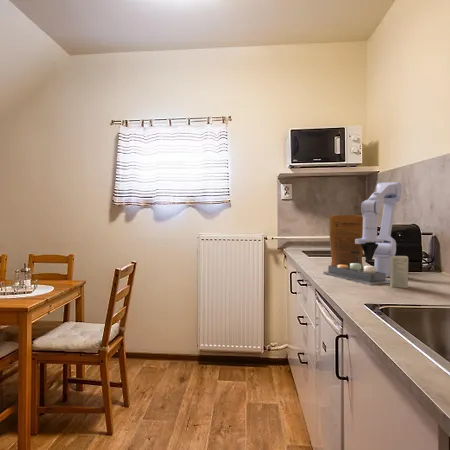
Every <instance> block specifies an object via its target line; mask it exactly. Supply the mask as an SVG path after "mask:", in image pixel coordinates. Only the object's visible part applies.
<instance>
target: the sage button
mask: <svg viewBox="0 0 450 450" xmlns="http://www.w3.org/2000/svg"><path fill="white" fill-rule="evenodd" d="M350 270H355V271H357V270H361V264H359V263H350Z"/></svg>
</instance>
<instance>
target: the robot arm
mask: <svg viewBox="0 0 450 450" xmlns="http://www.w3.org/2000/svg"><path fill="white" fill-rule="evenodd" d="M401 195H402V184H401V182H400V181H396V182H395V181H394V182H393V181H392V182H390V181H389V182H378V183H377V185H376V189H375V191H374V192H373V193H371V195H370V196H369V198H367V199H366V200H365V199H364V201H362V202H361V204H360V205H361V206H360V211H361V215H362V217H363V235H362V238H361V239H355V244H361V247H362V249H363V253H364V258H365V261H370V262H372V261H373V258H374V265H373V266H375V267H376V271H377V272H382V273H386V278H390V263H391V256H396V253H397V242H396V240H395V238H393V237H392V228H393V224H394V214H395V209H396V204H397V203H398V202H400V201H401V197H402V196H401ZM382 204H383V210H382V216H381V223H380V230H379V235H378V214H380V211H381V207H382Z"/></svg>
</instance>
